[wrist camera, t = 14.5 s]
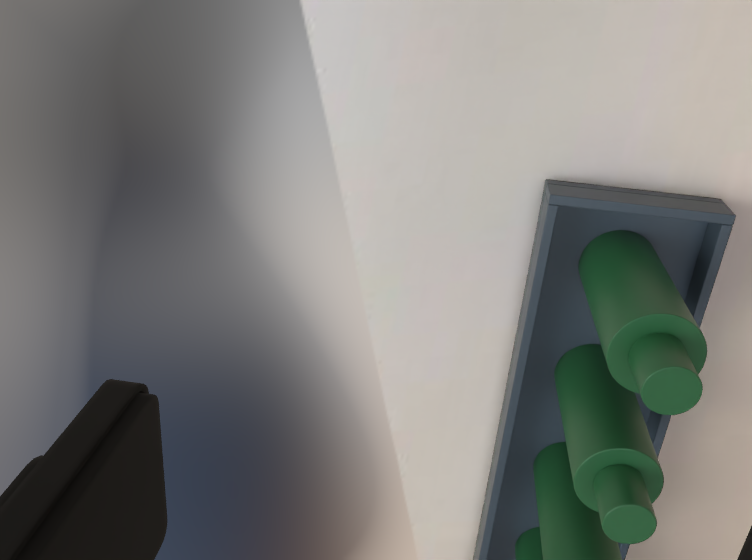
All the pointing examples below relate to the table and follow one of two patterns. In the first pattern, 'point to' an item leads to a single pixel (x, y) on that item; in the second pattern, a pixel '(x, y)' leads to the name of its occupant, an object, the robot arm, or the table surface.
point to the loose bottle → (643, 322)
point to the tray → (582, 327)
